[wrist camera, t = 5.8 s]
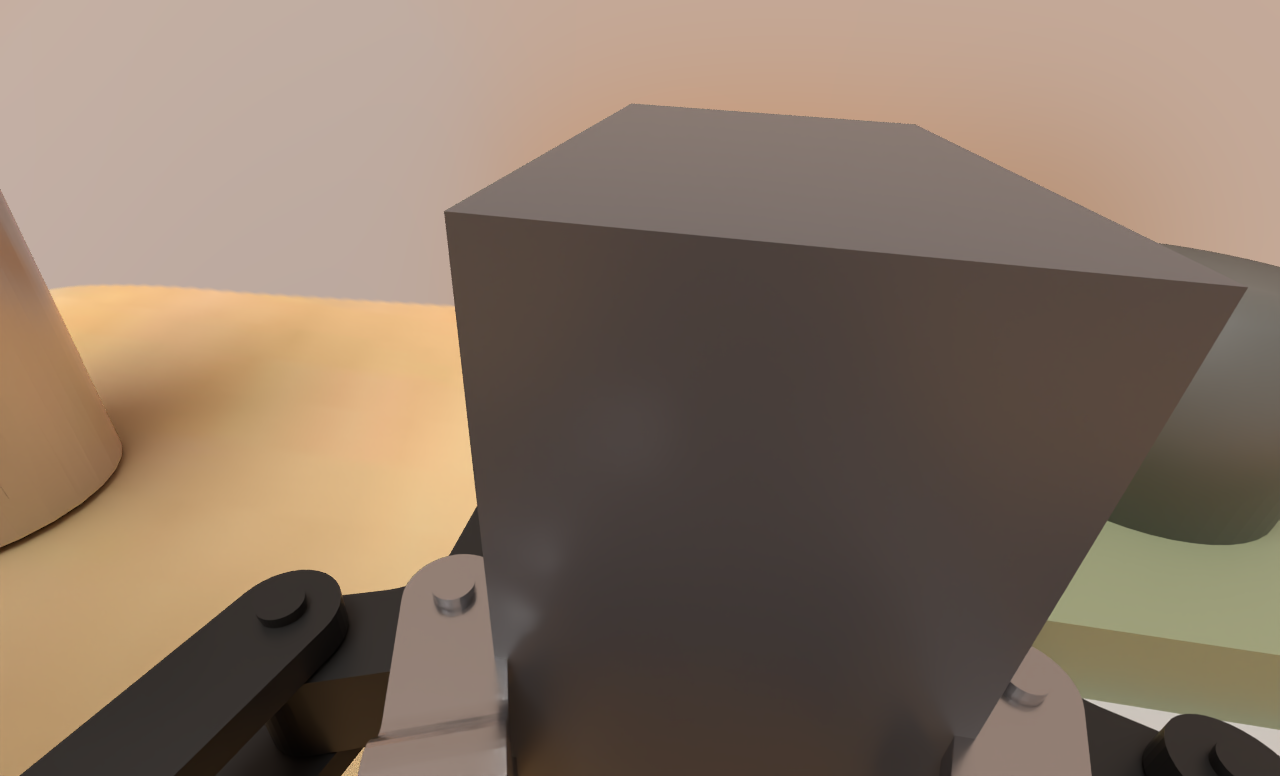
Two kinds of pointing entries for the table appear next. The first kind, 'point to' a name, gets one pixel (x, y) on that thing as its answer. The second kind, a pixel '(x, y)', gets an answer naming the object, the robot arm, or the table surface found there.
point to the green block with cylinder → (1193, 545)
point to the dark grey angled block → (794, 433)
